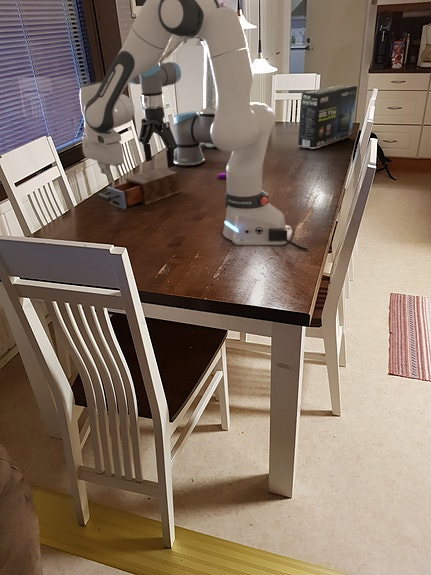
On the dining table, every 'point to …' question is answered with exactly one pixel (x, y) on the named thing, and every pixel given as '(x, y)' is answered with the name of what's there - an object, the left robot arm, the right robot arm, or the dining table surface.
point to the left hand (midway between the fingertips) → (159, 163)
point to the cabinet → (156, 184)
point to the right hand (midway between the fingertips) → (105, 173)
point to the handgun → (222, 175)
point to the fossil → (208, 145)
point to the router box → (326, 115)
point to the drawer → (123, 194)
